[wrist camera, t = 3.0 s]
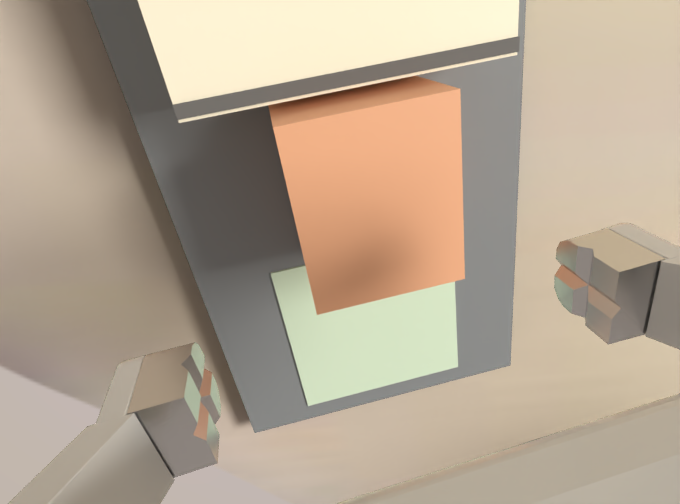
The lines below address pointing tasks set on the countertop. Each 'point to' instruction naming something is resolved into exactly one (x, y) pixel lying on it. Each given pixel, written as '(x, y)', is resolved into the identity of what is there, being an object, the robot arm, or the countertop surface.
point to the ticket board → (272, 194)
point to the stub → (375, 188)
